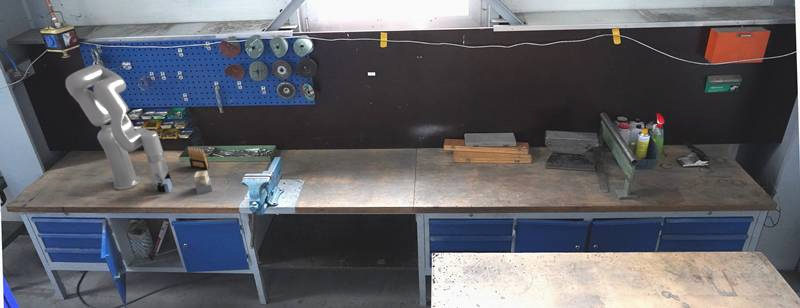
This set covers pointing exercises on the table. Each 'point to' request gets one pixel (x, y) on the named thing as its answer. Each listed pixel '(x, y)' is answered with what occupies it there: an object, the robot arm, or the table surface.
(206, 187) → the base block
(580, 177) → the table surface
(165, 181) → the blue cube
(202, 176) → the maple cube
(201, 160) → the ammunition clip
